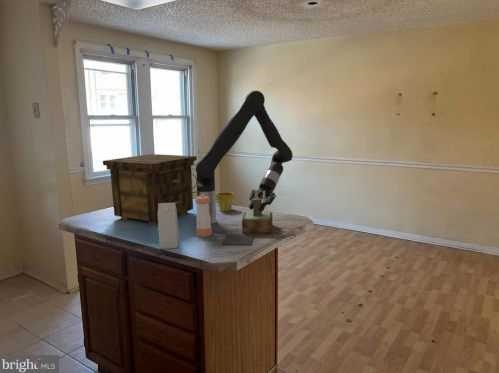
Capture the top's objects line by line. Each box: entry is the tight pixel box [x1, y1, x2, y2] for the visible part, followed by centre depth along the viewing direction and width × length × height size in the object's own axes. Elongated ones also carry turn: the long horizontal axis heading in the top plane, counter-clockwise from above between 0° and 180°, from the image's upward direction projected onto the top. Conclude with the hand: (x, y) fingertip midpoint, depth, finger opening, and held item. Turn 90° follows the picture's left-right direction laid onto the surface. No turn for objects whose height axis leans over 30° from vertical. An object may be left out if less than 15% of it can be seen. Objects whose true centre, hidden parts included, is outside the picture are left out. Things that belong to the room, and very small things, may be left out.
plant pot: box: [215, 191, 235, 212], centre depth 216 cm, size 10×10×10 cm
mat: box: [221, 234, 255, 246], centre depth 164 cm, size 13×13×1 cm
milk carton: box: [157, 203, 179, 250], centre depth 157 cm, size 7×7×19 cm
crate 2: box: [241, 211, 274, 235], centre depth 179 cm, size 14×14×7 cm
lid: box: [244, 197, 271, 220], centre depth 177 cm, size 12×12×9 cm
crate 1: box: [102, 153, 198, 226], centre depth 203 cm, size 35×35×33 cm
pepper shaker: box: [194, 194, 213, 238], centre depth 171 cm, size 7×7×19 cm
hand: (255, 209), depth 176 cm, fingers closed on lid, 5 cm apart
